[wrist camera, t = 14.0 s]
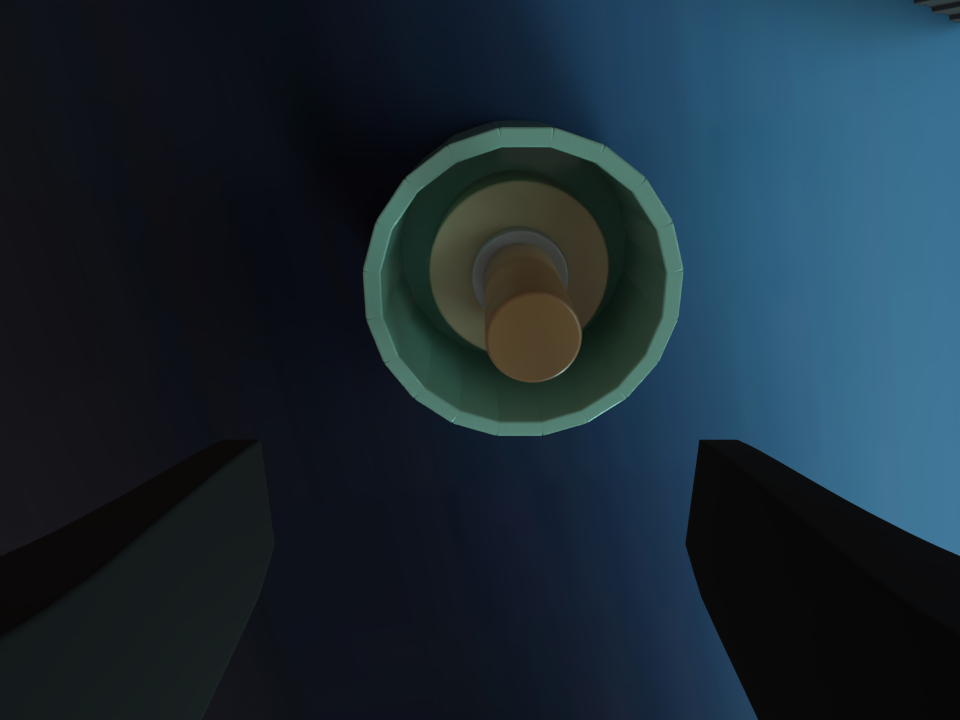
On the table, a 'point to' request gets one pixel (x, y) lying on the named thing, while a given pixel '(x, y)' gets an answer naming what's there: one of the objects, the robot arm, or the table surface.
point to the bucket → (605, 339)
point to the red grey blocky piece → (943, 7)
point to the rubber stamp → (519, 271)
